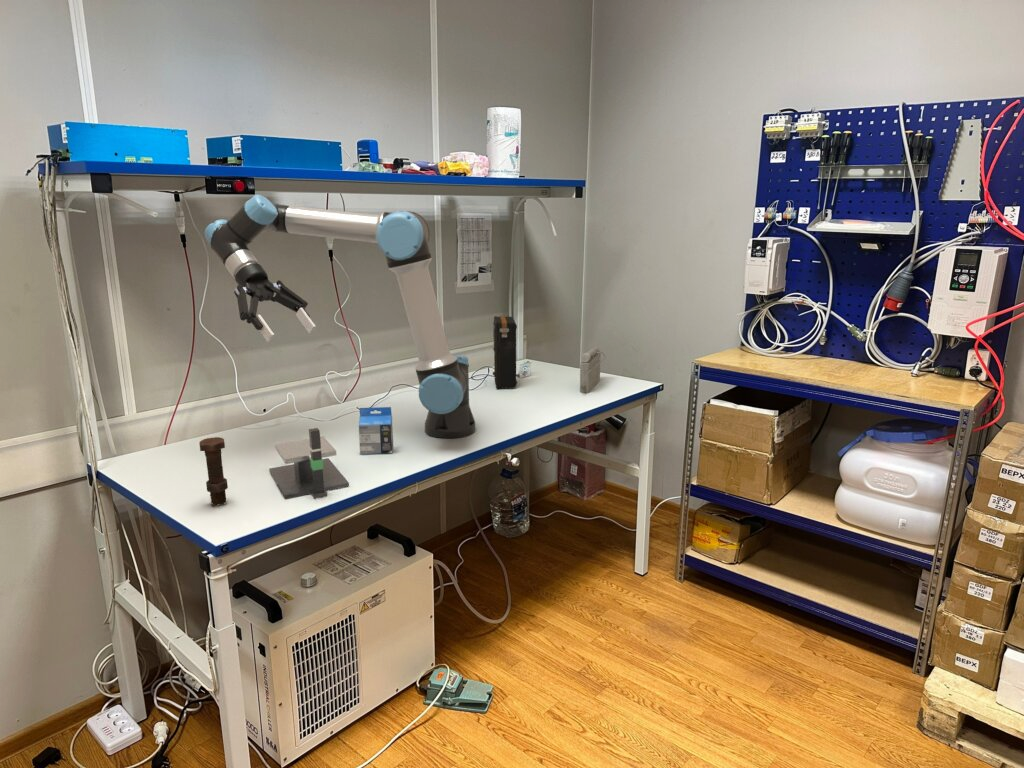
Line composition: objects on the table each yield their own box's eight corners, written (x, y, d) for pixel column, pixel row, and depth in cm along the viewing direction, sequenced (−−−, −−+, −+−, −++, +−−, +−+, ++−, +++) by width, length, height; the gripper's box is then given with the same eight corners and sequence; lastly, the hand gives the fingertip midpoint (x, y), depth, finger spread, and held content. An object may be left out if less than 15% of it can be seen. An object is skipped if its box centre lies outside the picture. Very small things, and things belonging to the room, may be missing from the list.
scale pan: (325, 461, 178) (323, 436, 177) (342, 482, 165) (340, 455, 163) (277, 469, 173) (275, 444, 171) (291, 492, 159) (288, 464, 158)
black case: (492, 379, 267) (491, 315, 260) (514, 379, 267) (514, 314, 261) (493, 390, 252) (493, 322, 245) (517, 389, 252) (517, 321, 246)
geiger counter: (590, 343, 263) (573, 357, 240) (606, 344, 261) (591, 358, 238) (589, 379, 267) (573, 395, 244) (606, 380, 264) (590, 397, 242)
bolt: (206, 500, 158) (199, 438, 155) (230, 496, 160) (223, 435, 157) (207, 510, 153) (199, 446, 149) (231, 506, 155) (224, 443, 152)
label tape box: (359, 455, 187) (356, 411, 184) (361, 450, 191) (358, 407, 188) (392, 454, 188) (390, 410, 184) (393, 449, 192) (391, 406, 188)
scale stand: (328, 461, 182) (324, 403, 178) (352, 490, 163) (348, 426, 159) (269, 472, 175) (263, 411, 171) (287, 504, 156) (281, 436, 152)
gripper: (279, 277, 192) (321, 335, 188) (199, 286, 171) (245, 351, 168) (290, 258, 188) (334, 317, 184) (210, 265, 168) (258, 332, 164)
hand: (292, 333), depth 176 cm, fingers open, 13 cm apart
